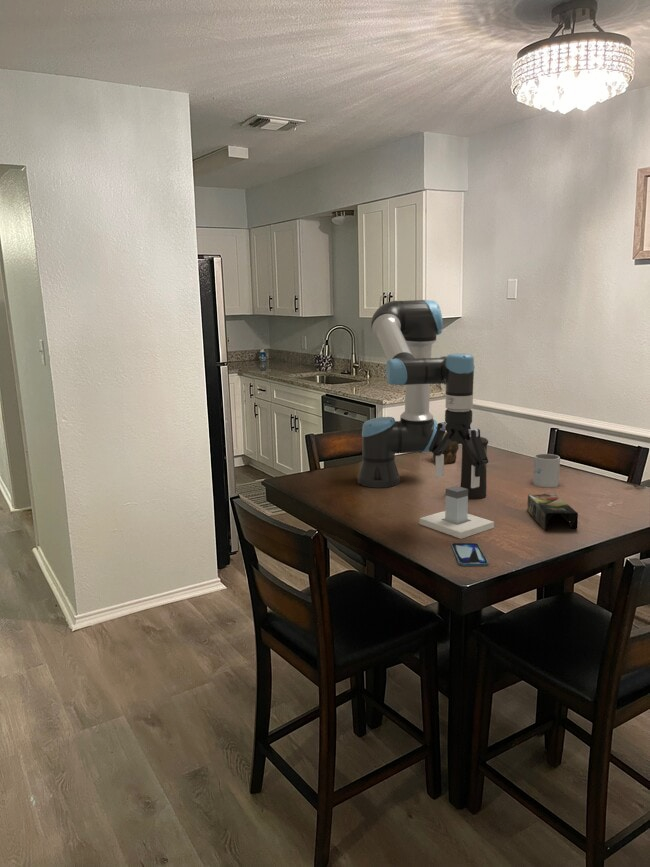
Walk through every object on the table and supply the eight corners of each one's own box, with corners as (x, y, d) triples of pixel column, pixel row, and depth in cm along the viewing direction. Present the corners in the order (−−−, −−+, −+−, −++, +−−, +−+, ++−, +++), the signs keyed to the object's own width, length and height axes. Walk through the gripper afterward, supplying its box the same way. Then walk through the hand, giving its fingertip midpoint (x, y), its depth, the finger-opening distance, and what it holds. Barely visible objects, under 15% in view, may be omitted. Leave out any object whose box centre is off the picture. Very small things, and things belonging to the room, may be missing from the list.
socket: (419, 524, 194) (419, 518, 194) (452, 514, 202) (452, 508, 202) (460, 538, 181) (461, 532, 181) (493, 527, 190) (494, 521, 189)
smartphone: (477, 542, 177) (489, 563, 163) (477, 546, 178) (489, 567, 163) (450, 542, 178) (459, 563, 163) (450, 546, 178) (459, 567, 163)
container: (487, 499, 216) (489, 440, 212) (459, 498, 218) (460, 439, 214) (486, 492, 224) (488, 434, 220) (459, 491, 226) (460, 434, 222)
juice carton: (524, 509, 206) (525, 491, 204) (555, 509, 206) (557, 491, 204) (543, 532, 186) (544, 512, 185) (578, 532, 186) (580, 512, 185)
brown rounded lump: (460, 459, 271) (461, 431, 268) (454, 465, 261) (455, 436, 259) (435, 457, 275) (435, 429, 273) (427, 463, 265) (428, 434, 263)
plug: (445, 524, 192) (445, 488, 190) (455, 521, 195) (456, 485, 193) (456, 528, 189) (457, 491, 186) (467, 525, 191) (468, 489, 189)
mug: (560, 487, 228) (561, 459, 226) (534, 487, 230) (535, 459, 228) (555, 478, 240) (556, 451, 238) (530, 477, 241) (531, 451, 239)
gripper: (417, 404, 193) (416, 474, 197) (485, 417, 173) (482, 494, 178) (435, 401, 197) (434, 470, 202) (503, 413, 177) (500, 489, 182)
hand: (456, 481), depth 190 cm, fingers open, 13 cm apart
